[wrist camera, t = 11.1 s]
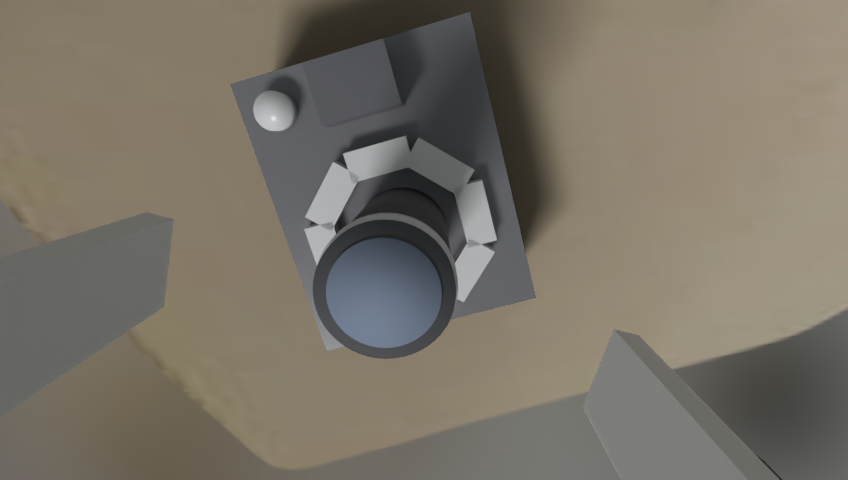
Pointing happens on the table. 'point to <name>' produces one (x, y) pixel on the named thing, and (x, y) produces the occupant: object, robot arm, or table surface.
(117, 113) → the table surface
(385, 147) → the camera body
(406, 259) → the lens
